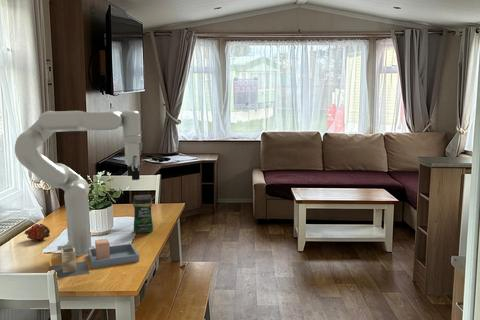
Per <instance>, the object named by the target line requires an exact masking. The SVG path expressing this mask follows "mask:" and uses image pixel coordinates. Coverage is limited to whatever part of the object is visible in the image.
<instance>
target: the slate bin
mask: <svg viewBox="0 0 480 320" xmlns="http://www.w3.org/2000/svg"><path fill="white" fill-rule="evenodd" d="M109 249H110V258H108V259H101V260H97V259H96V247H95V248H93V249H88V254H87V256H88V258H89V260H90V264H91V267H92V269H96V268H101V267H109V266H114V265H115V266H116V265H122V264H129V263H136V262H140V254H139V253H138V250H137V249H136V247H135V245H134V244H133V243H131V242H130V243H125V244H124V243H123V244H116V245H109Z"/></svg>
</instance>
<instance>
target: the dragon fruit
mask: <svg viewBox="0 0 480 320" xmlns="http://www.w3.org/2000/svg"><path fill="white" fill-rule="evenodd" d="M50 232H51V231H50V228H49V227H48V226H46V225H45V224H43V223H36V224H33V225H32V226H31V227H30V228H28V229H27V230H25V232H24V235H26V236H27V237H26V238H27V239H29V240H34V242H37V241H39V240H40V241H44V240H45V239H46V238H49V237H50V236H51V235H50Z"/></svg>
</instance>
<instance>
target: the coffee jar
mask: <svg viewBox="0 0 480 320" xmlns="http://www.w3.org/2000/svg"><path fill="white" fill-rule="evenodd" d="M152 205H153V199H152V195H151V194H138V195H136V194H135V195H134V196H133V198H132V206H133V208H134V210H133V211H134V218H133V219H134V220H133V231H134V233H136V234H145V233H151V232H153V230H154V224H153V216H152Z"/></svg>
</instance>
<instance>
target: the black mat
mask: <svg viewBox="0 0 480 320" xmlns="http://www.w3.org/2000/svg"><path fill="white" fill-rule="evenodd" d="M87 263H88V262H87V261H86V260H84V261H76V269H77V271H73V272H66V273H63V269H62V264H57V265H52V266H51V265H50V266H49V271H50V270H55V271H56V272H57V277H58V278H57V279H61V278H62V279H63V278H69V277H76V276H82V275H88V274H90V270H89V267H88V264H87Z"/></svg>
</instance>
